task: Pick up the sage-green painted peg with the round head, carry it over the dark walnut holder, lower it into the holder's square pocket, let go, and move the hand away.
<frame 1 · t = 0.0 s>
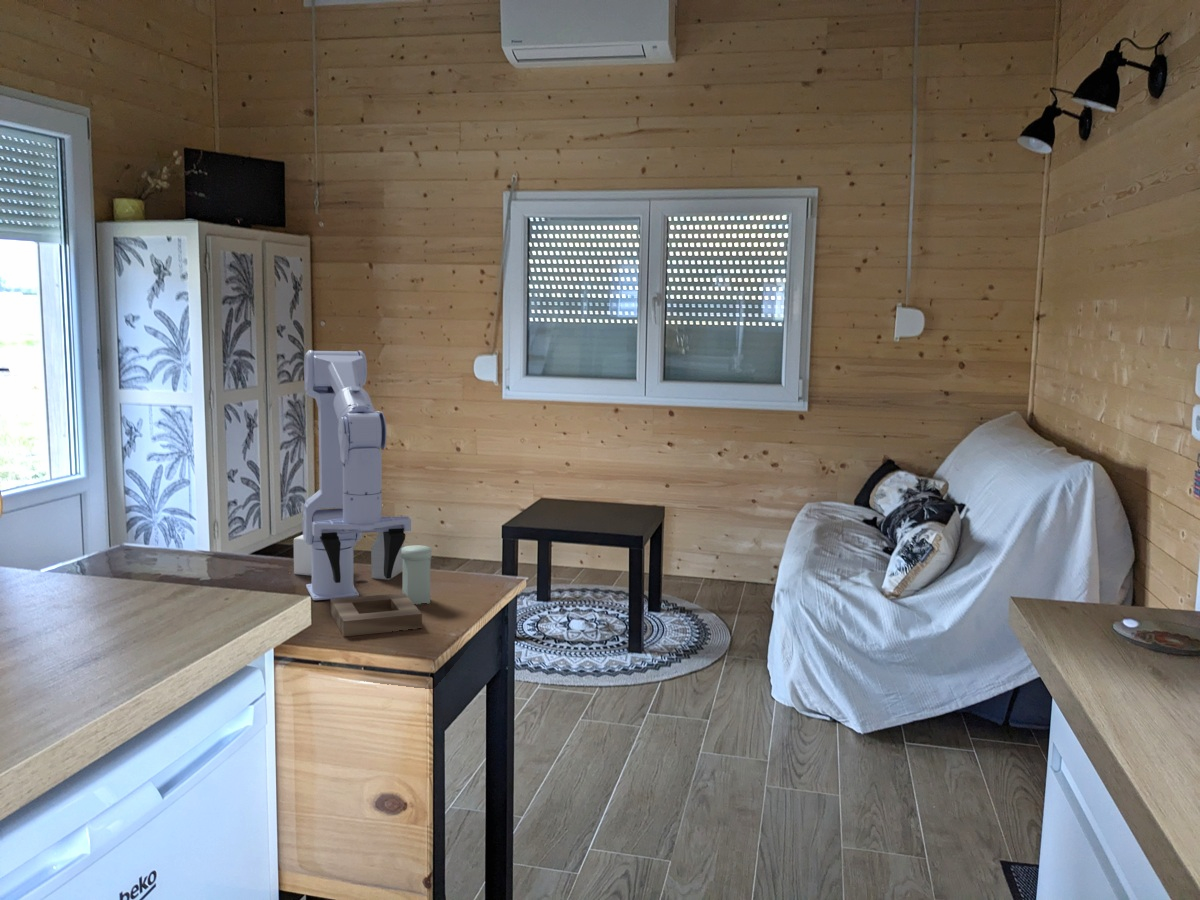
hand: (362, 579, 152), 10 cm above the table, tool pointing down, fingers open, 7 cm apart
walnut holder: (375, 620, 164), on the table
grey gabled block: (387, 575, 193), on the table
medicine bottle: (319, 572, 193), on the table
green peg: (416, 601, 176), on the table
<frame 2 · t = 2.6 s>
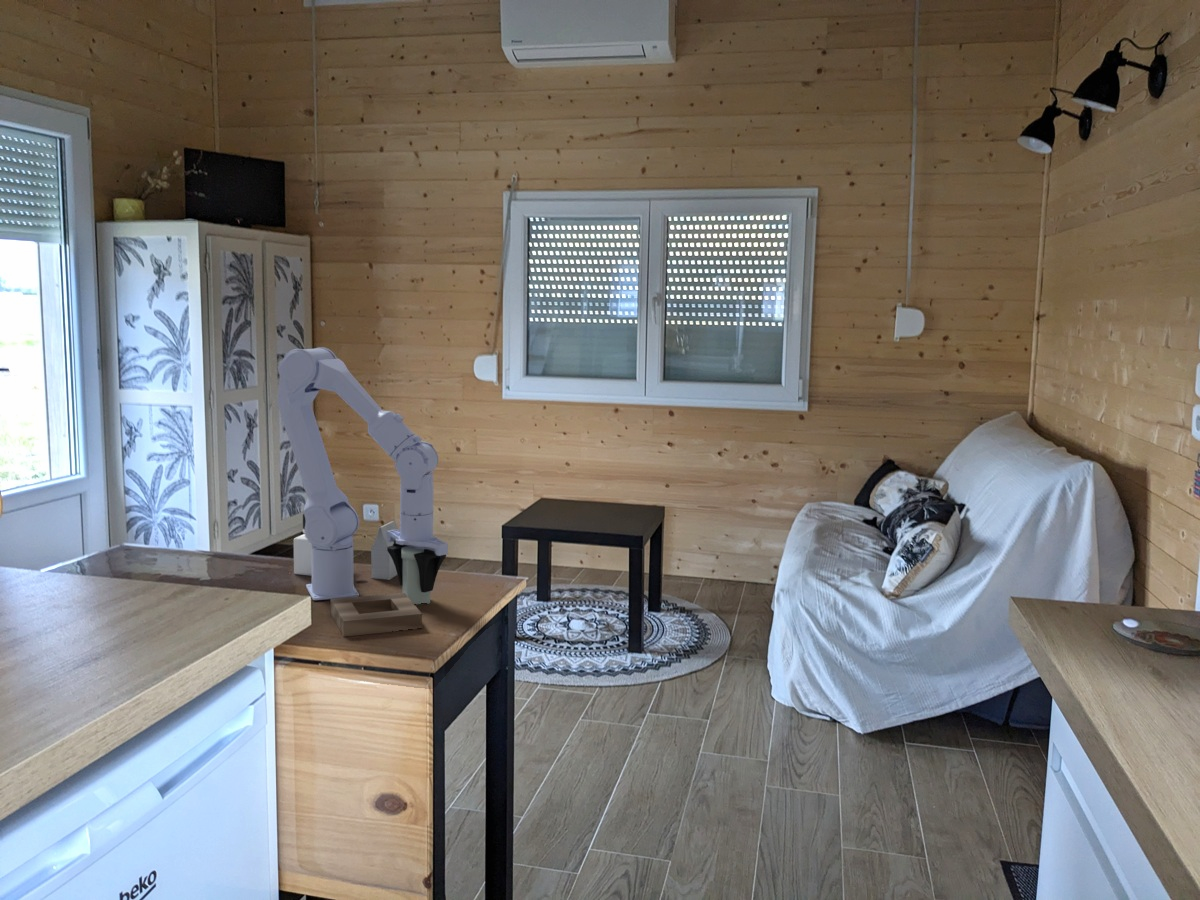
hand: (416, 587, 176), 2 cm above the table, tool pointing down, fingers closed on green peg, 5 cm apart
green peg: (416, 601, 176), on the table, touching gripper
everything else where it was.
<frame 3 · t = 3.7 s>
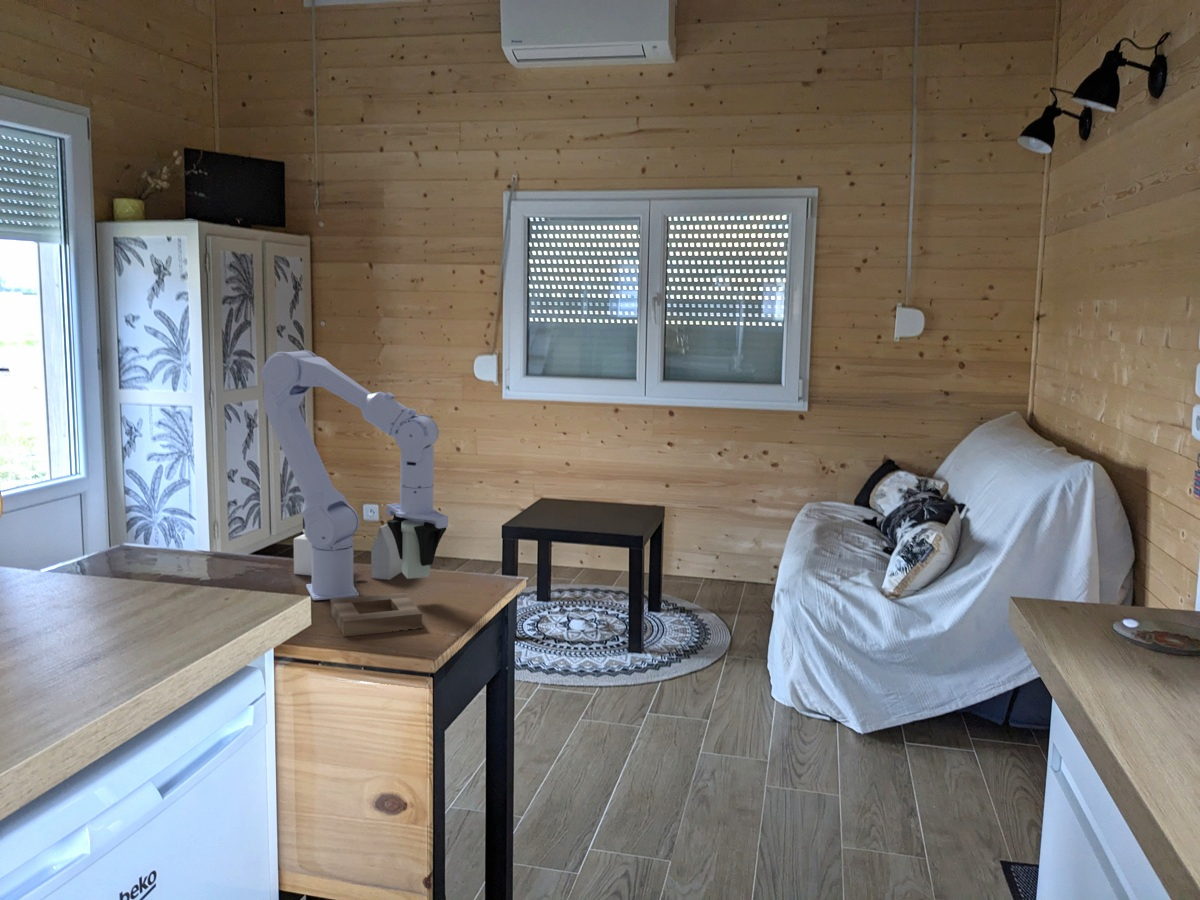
hand: (416, 561, 175), 7 cm above the table, tool pointing down, fingers closed on green peg, 5 cm apart
green peg: (416, 574, 175), point 5 cm above the table, touching gripper
everything else where it was.
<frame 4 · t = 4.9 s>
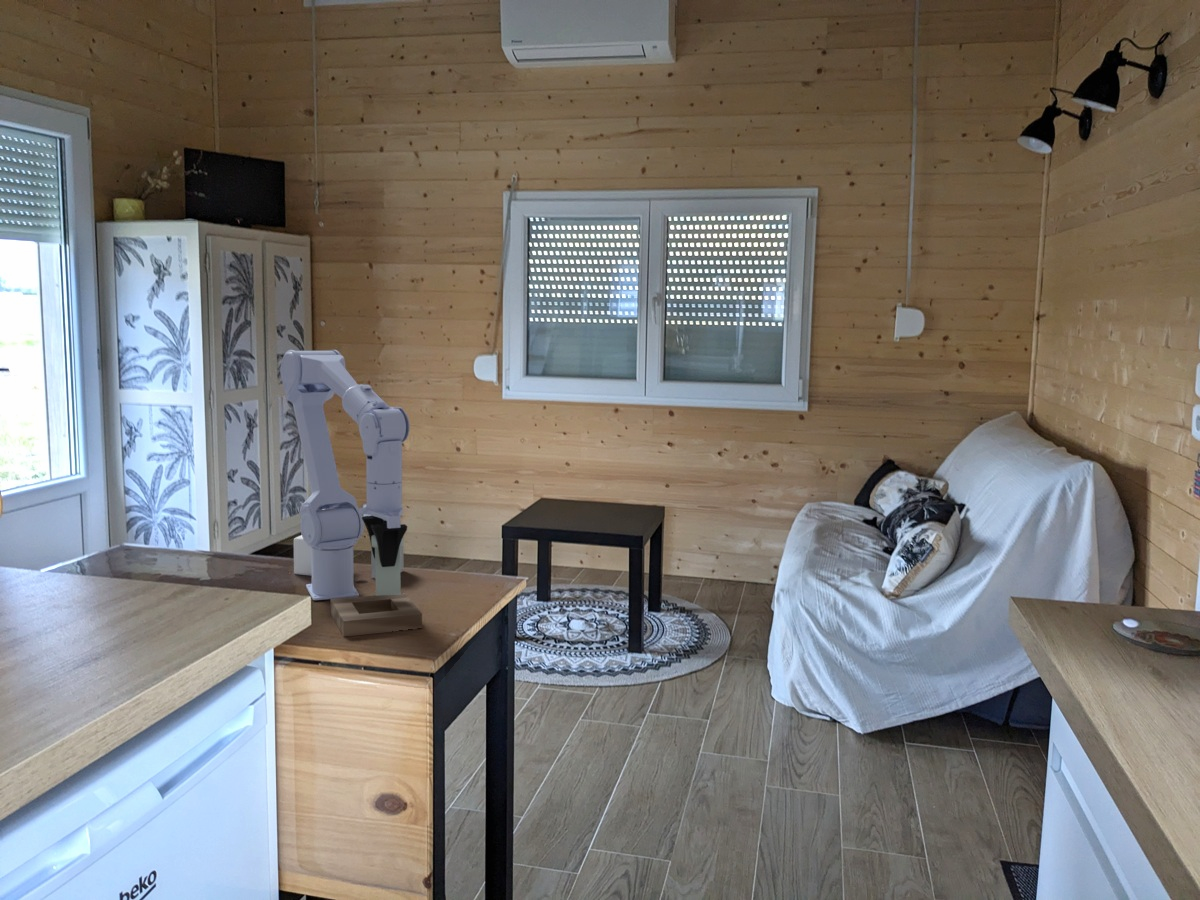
hand: (384, 562, 165), 9 cm above the table, tool pointing down, fingers closed on green peg, 5 cm apart
green peg: (388, 591, 166), point 4 cm above the table, touching gripper
everything else where it was.
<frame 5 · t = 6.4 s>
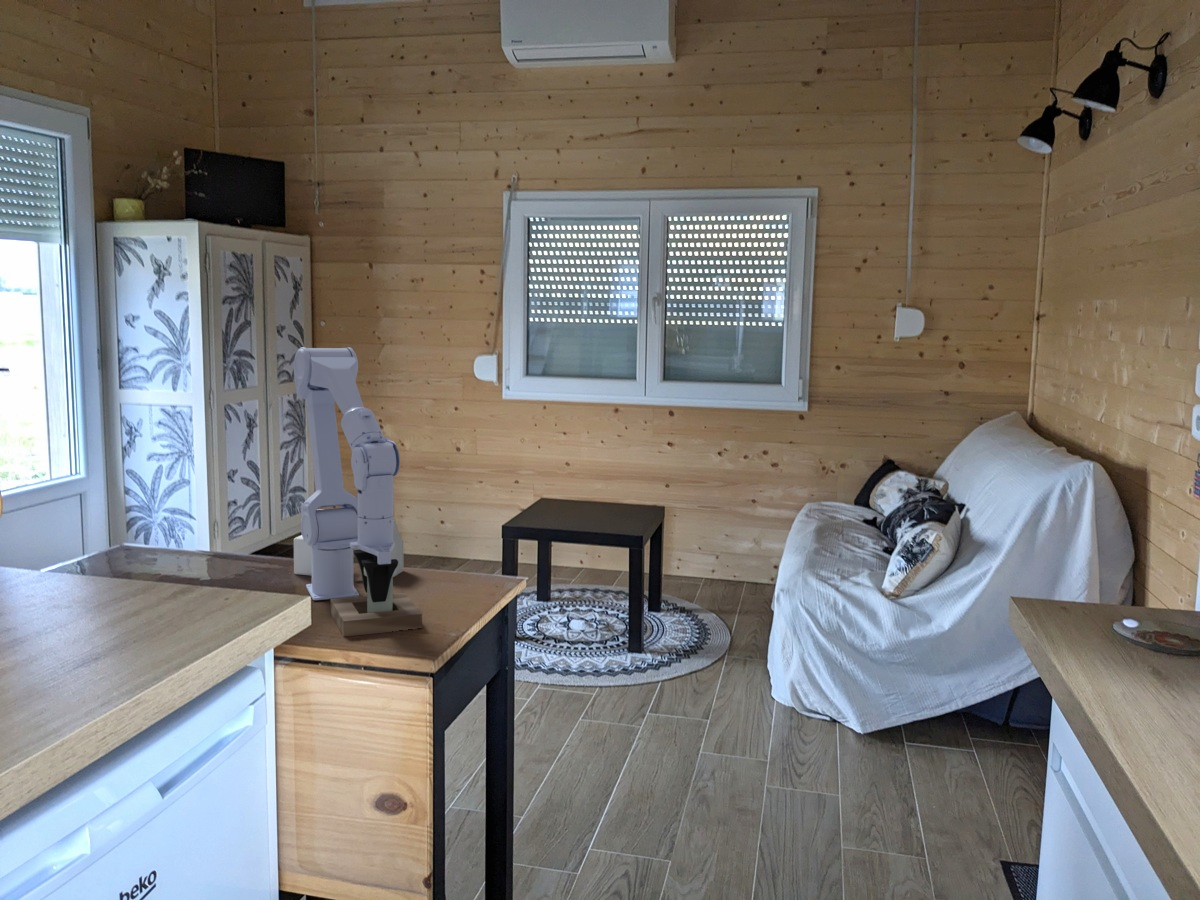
hand: (375, 596, 164), 4 cm above the table, tool pointing down, fingers closed on green peg, 5 cm apart
green peg: (380, 620, 164), resting in walnut holder, touching gripper
everything else where it was.
when the fingers open (4 cm above the table, at t = 7.0 s): green peg stays where it is, resting in walnut holder.
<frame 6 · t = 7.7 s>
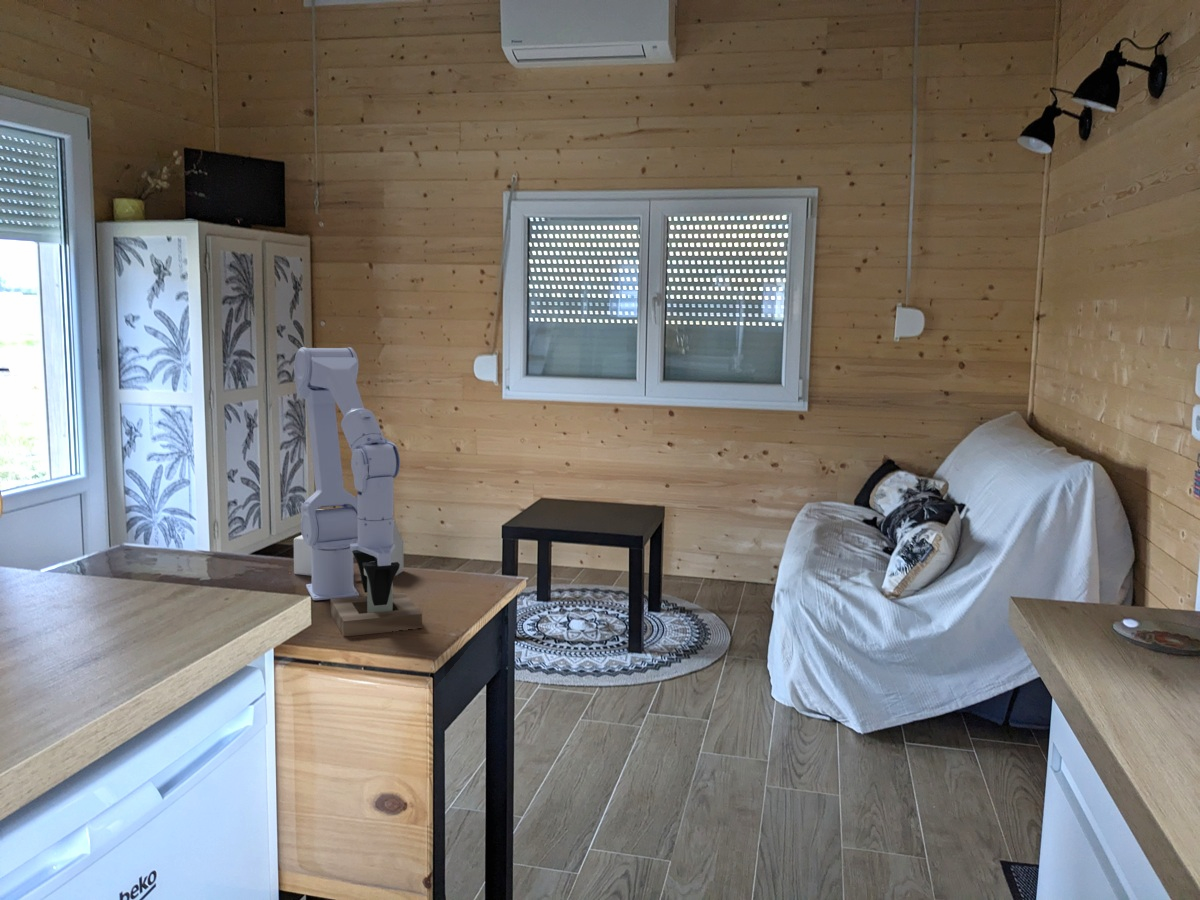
hand: (375, 598, 164), 4 cm above the table, tool pointing down, fingers open, 7 cm apart
green peg: (380, 620, 164), resting in walnut holder
everything else where it was.
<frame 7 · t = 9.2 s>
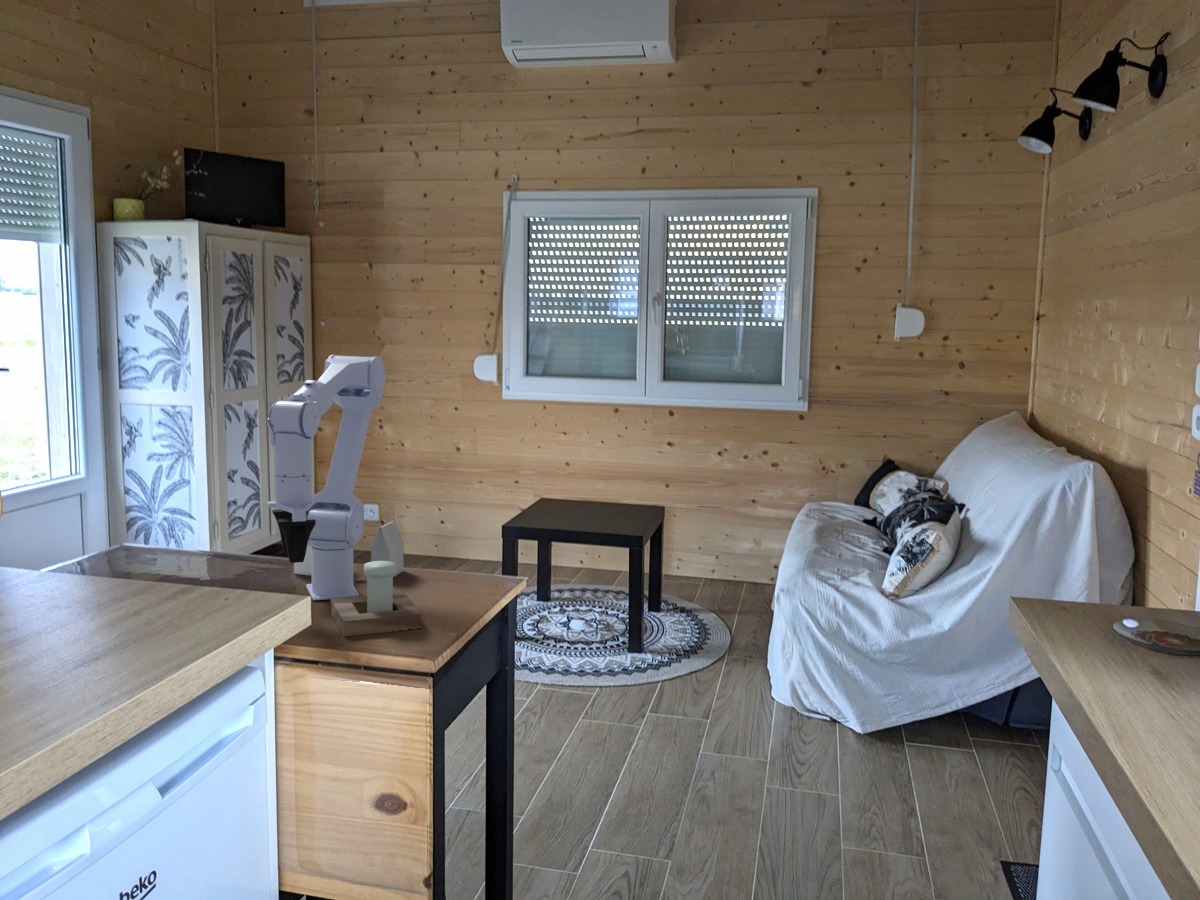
hand: (293, 556, 163), 10 cm above the table, tool pointing down, fingers open, 7 cm apart
nothing on the table moved.
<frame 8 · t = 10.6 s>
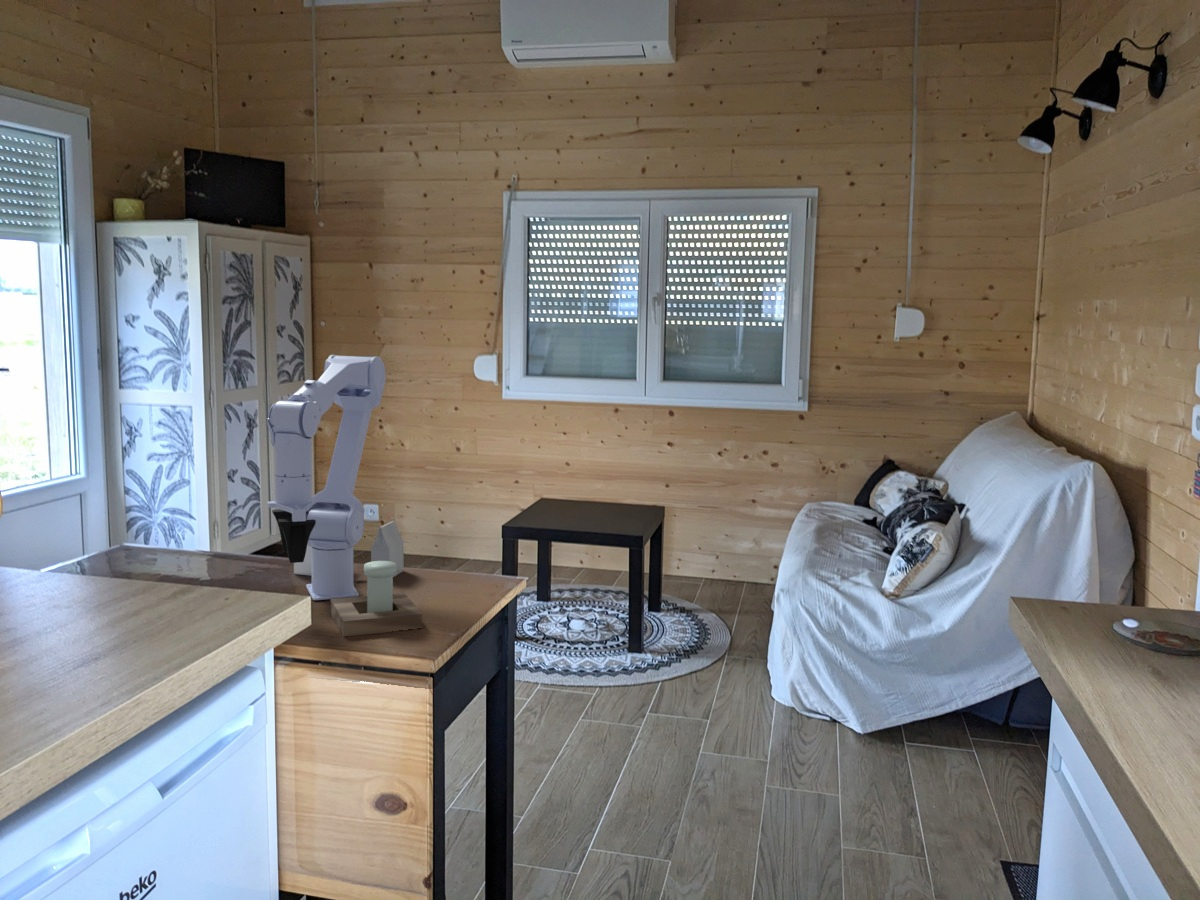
hand: (293, 556, 163), 10 cm above the table, tool pointing down, fingers open, 7 cm apart
nothing on the table moved.
at the end: green peg 0.8 cm off-centre on the walnut holder, point 0.0 cm above the walnut holder's base; green peg tilted 0°; the gripper is holding nothing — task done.
